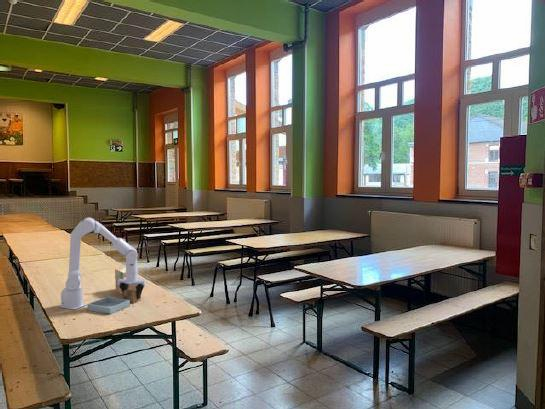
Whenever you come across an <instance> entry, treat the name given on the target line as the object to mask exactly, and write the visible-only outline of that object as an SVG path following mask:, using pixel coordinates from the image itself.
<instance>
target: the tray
mask: <svg viewBox="0 0 545 409" xmlns="http://www.w3.org/2000/svg"><path fill="white" fill-rule="evenodd" d="M86 304H87V303H86ZM86 306H87V311H89V312H96V313H99V314H106V315H112V314H115V313H117V312H120V311H121V310H122V311H123V309H126V308H129V307H130V306H131V303H130V300H126V299H124V298H120V297H119V298H118V297H114V296H113V297H112V296H106V297H103V298H100V299H98V300H94V301H92V302H90V303H88V304H87V305H86Z"/></svg>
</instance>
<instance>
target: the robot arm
mask: <svg viewBox="0 0 545 409" xmlns="http://www.w3.org/2000/svg"><path fill="white" fill-rule="evenodd" d="M92 232H93V233H94V234H100V235H102V237H104V238H105V239H107V240H108V241H109V242H111V243H112V248H113V249H115V250H116V251H118V252H119V253H120V254H121V255H122V256H125V259H126V260H125V261H126V262H125V267H126V279H119V280H118V284H120V285H119V287H120V288H121V290H122V292H123V294H122V295H123V296H124V290H127V289H128V284H136V285H137V286H136V290H137V299H140V298H141V299H142V292H143V290H144V288H145V286H146V285H147V280H143V279H140V278H139V269H138V268H139V266H138V265H139V264H138V258H139V254H138V251H137V249H136V248H135V247H134V246H133V245H130V244H129V243H128V242H126V239H125V238H122V237H117V236H116V235H114V234H113V233H112V232H111V231H109V230H108V229H107V228H106V227H105V226H104V225H103V224H102V223H100V222H99V221H97V220H95V218H93V217H85V218H84V219H81V220H80V222H79V223H78V224H77V225H76V226H75V228H74V229H73V230H72V231H71V232H70V238H69V239H70V240H69V241H70V244H69V264H68V265H69V266H68V273H67V279H66V281H65V287H64V288H63V289H62V290H61V292H60V306H59V308H62V309H68V310H77V309H79V308H82V307H85V306H87V303H84V302H83V286H81V282H82V276H81V268H80V266H81V246H82V244H81V243H82V237H84V236H85V235H86V234H89V233H92ZM139 279H140V280H139Z"/></svg>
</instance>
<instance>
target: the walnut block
mask: <svg viewBox="0 0 545 409" xmlns="http://www.w3.org/2000/svg"><path fill="white" fill-rule="evenodd" d="M123 299H126V300H130V304H132V305H133V304H136V303H138V302H140V301H142V297H141V298H140V299H137V290H136V288H129V289H127V290H124V295H123Z"/></svg>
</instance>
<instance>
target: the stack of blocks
mask: <svg viewBox="0 0 545 409" xmlns="http://www.w3.org/2000/svg"><path fill="white" fill-rule="evenodd" d="M114 275H115V277H114V278H115V290H116V291H117V292H118V293H119V294H121V295H123V292H122V290H121V288H120V287H119V285H120V284H118V280H119V279H126V266H124V267H123V266H122V267H118V268H117V267H116V268H114ZM138 279H139V280H141V279H140V278H138ZM136 286H137V285H136V284H128V289H129V288H136Z"/></svg>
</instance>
